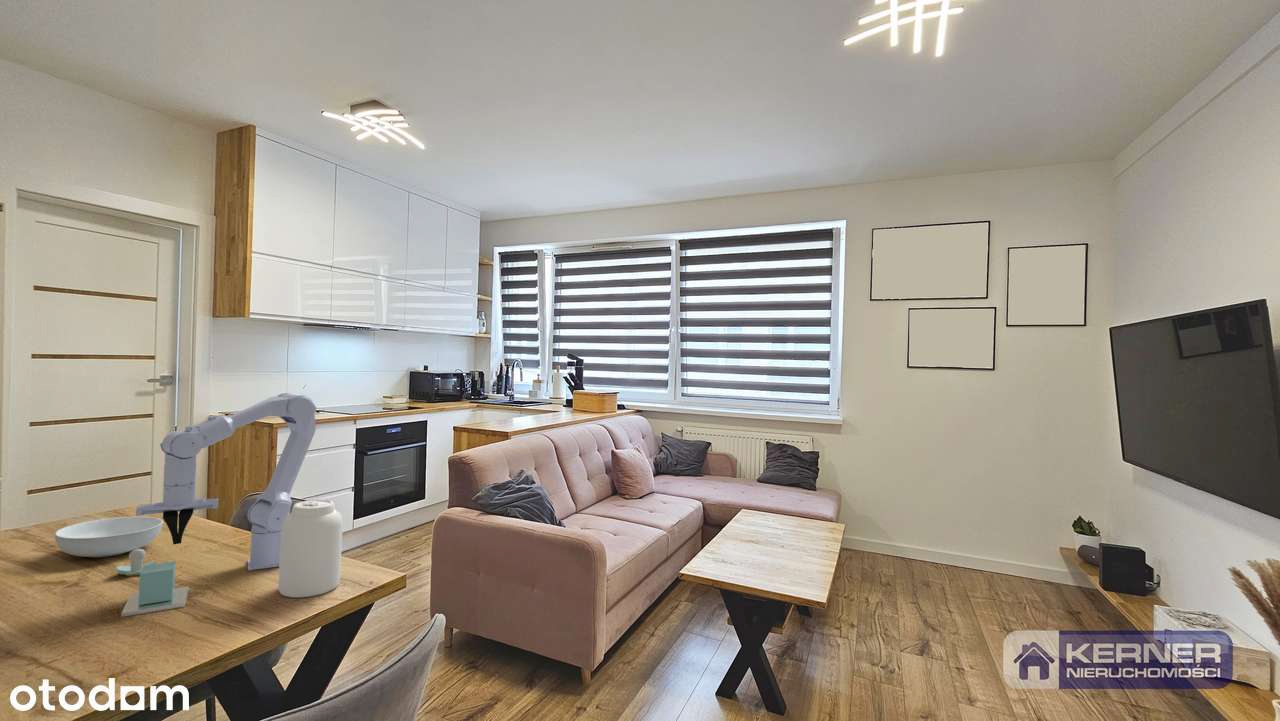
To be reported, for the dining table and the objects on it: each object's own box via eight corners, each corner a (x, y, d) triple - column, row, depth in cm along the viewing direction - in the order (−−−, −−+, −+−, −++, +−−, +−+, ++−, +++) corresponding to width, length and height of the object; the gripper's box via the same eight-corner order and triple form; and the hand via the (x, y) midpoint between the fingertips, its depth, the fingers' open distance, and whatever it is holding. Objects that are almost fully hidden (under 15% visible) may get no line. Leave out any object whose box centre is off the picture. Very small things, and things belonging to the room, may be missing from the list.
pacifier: (116, 573, 137) (115, 580, 132) (117, 547, 137) (116, 553, 132) (156, 567, 141) (156, 573, 137) (157, 541, 142) (157, 547, 137)
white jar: (264, 592, 129) (269, 505, 129) (313, 574, 140) (317, 494, 140) (305, 603, 124) (309, 512, 124) (352, 583, 136) (356, 500, 136)
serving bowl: (174, 550, 153) (175, 524, 153) (67, 572, 135) (68, 543, 135) (145, 534, 164) (147, 511, 164) (43, 553, 146) (44, 527, 146)
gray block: (188, 590, 128) (190, 559, 128) (184, 606, 120) (186, 573, 120) (130, 598, 123) (131, 566, 123) (121, 616, 114) (123, 582, 114)
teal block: (174, 591, 125) (175, 561, 125) (171, 600, 121) (173, 569, 121) (142, 595, 122) (143, 565, 122) (138, 605, 118) (140, 573, 118)
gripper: (135, 490, 122) (132, 553, 122) (218, 484, 131) (216, 542, 131) (139, 483, 128) (137, 543, 128) (219, 478, 137) (217, 534, 137)
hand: (177, 542), depth 130 cm, fingers closed
